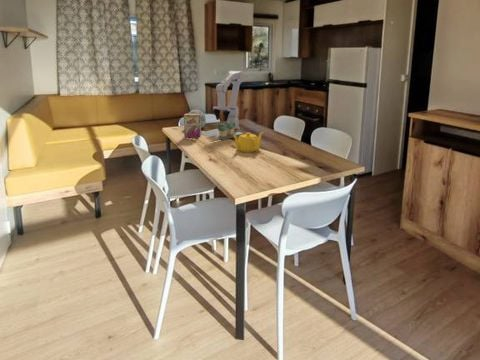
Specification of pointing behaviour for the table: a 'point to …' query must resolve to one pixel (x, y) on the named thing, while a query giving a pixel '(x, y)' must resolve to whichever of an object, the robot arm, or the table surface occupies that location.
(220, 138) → the board
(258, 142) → the teapot
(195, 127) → the candy bar box
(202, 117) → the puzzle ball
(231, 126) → the beam
